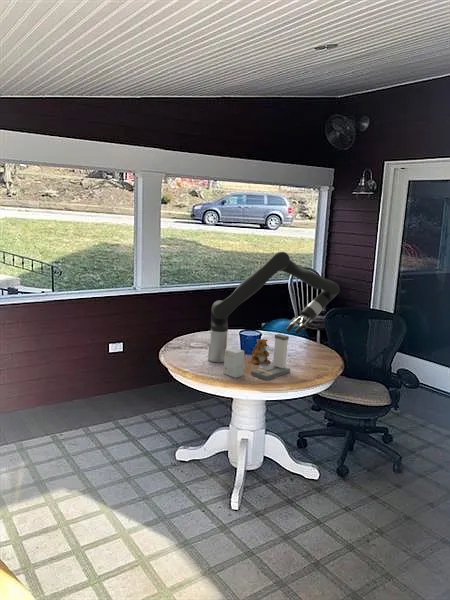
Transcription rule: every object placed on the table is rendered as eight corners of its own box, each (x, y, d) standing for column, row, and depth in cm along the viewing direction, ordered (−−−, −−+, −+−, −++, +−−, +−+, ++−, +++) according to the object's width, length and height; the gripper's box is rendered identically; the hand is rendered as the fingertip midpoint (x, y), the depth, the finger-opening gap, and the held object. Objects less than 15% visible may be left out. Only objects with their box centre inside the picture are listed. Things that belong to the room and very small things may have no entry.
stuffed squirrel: (254, 364, 271) (256, 341, 268) (246, 357, 284) (248, 334, 282) (271, 364, 273) (273, 341, 271) (263, 356, 287) (264, 334, 284)
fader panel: (274, 367, 268) (275, 363, 268) (289, 372, 262) (290, 368, 261) (250, 374, 254) (251, 370, 253) (266, 380, 247) (266, 376, 247)
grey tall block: (276, 364, 266) (278, 333, 263) (286, 367, 261) (288, 336, 258) (272, 365, 263) (274, 334, 260) (282, 368, 259) (284, 337, 256)
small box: (243, 375, 252) (244, 350, 250) (234, 378, 247) (236, 353, 245) (231, 371, 257) (233, 347, 255) (223, 373, 253) (224, 349, 250)
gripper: (300, 304, 266) (280, 325, 262) (315, 306, 253) (294, 328, 249) (307, 315, 269) (287, 335, 264) (323, 317, 256) (302, 338, 251)
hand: (291, 331), depth 256 cm, fingers open, 8 cm apart
